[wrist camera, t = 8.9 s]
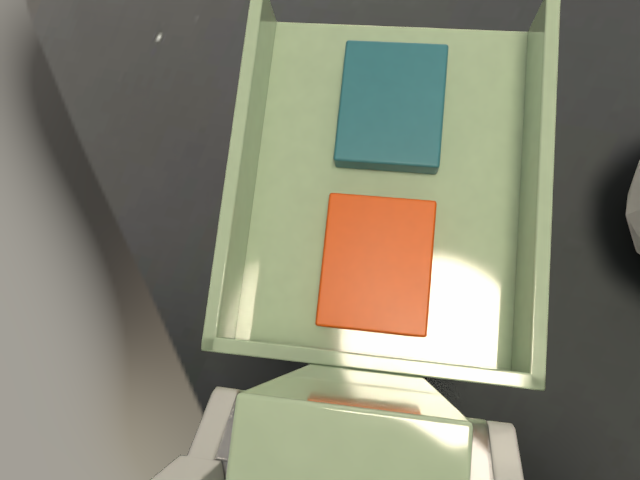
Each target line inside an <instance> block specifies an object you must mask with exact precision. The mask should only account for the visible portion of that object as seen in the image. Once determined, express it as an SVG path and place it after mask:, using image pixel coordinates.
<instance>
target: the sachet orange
mask: <svg viewBox="0 0 640 480" xmlns="http://www.w3.org/2000/svg"><path fill="white" fill-rule="evenodd" d="M436 207H437V203H436V201H432V200H420V199H407V198H394V197H381V196H368V195H355V194H343V193H330V194H329V201H328V210H327V220H326V229H325V238H324V247H323V257H322V266H321V275H320V284H319V293H318V303H317V312H316V321H315V324H316V325H317V326H321V327H330V328H339V329H348V330H358V331H367V332H376V333H385V334H394V335H403V336H413V337H422V338H424V337H426V336H427V327H428V314H429V300H430V287H431V274H432V260H433V247H434V234H435V220H436Z"/></svg>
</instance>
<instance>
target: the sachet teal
mask: <svg viewBox="0 0 640 480" xmlns="http://www.w3.org/2000/svg"><path fill="white" fill-rule="evenodd" d="M448 49H449V47H448V45H447V44H428V43H405V42H381V41H358V40H348V41H347V42H346V47H345V56H344V65H343V74H342V84H341V93H340V102H339V111H338V121H337V130H336V139H335V148H334V157H333V158H334V162H335V166H336V167H341V168H355V169H369V170H382V171H396V172H410V173H424V174H437V172H438V169H439V166H440V156H441V142H442V129H443V116H444V102H445V89H446V75H447V62H448Z"/></svg>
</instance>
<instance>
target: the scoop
mask: <svg viewBox="0 0 640 480" xmlns="http://www.w3.org/2000/svg"><path fill="white" fill-rule="evenodd" d="M559 24H560V0H543V2H542V4H541V6H540V8H539V10H538V12H537V14H536V16H535V18H534V20H533V22H532V25H531V27H530V29H529V31H528V32H518V31H493V30H467V29H442V28H416V27H391V26H365V25H340V24H314V23H289V22H277V21H276V18H275V15H274V12H273V9H272V6H271V3H270V0H250V5H249V12H248V19H247V26H246V33H245V40H244V47H243V54H242V61H241V68H240V75H239V82H238V89H237V96H236V103H235V110H234V118H233V125H232V132H231V139H230V146H229V153H228V160H227V167H226V174H225V181H224V188H223V195H222V202H221V209H220V216H219V224H218V231H217V238H216V245H215V252H214V259H213V266H212V273H211V280H210V287H209V294H208V301H207V308H206V315H205V322H204V329H203V337H202V344H201V350H202V351H209V352H217V353H226V354H234V355H242V356H251V357H259V358H268V359H276V360H285V361H293V362H302V363H310V364H309V365H307V366H304V367H302V368H300V369H297V370H295V371H292V372H290V373H287V374H285V375H282V376H280V377H277V378H275V379H272V380H270V381H267V382H265V383H262V384H260V385H257V386H255V387H253V388H250V389H248V390H245V391H243V392H240V393H238V394H237V396H236V401H235V409H234V417H233V425H232V432H231V440H230V448H229V456H228V463H227V471H226V479H225V480H470V477H471V460H472V443H473V424H472V423H471V422H470V421H469V420H468V419H467V418H466V417H465V416H464V415H463V414H462V413H461V412H460V411H459V410H458V409H456V408H455V407H454V406H453V405H452V404H451V403H450V402H449V401H448V400H447V399H446V398H445V397H444V396H443V395H441V394H440V393H439V392H438V391H437V390H436V389H435V388H434V387H433V386H432V385H431V384H430V383H429V382H428V381H426V380H425V379H424V378H423V377H429V378H438V379H446V380H455V381H463V382H472V383H480V384H489V385H497V386H506V387H514V388H523V389H531V390H540V391H544V390H545V381H546V356H547V330H548V305H549V279H550V254H551V228H552V203H553V177H554V152H555V126H556V101H557V75H558V50H559ZM348 40H358V41H381V42H405V43H428V44H447V45H448V47H449V49H448V62H447V75H446V89H445V102H444V116H443V129H442V142H441V156H440V166H439V169H438V172H437V174H424V173H410V172H396V171H382V170H369V169H355V168H341V167H336V166H335V162H334V158H333V157H334V148H335V139H336V130H337V121H338V111H339V102H340V93H341V84H342V74H343V65H344V56H345V47H346V42H347V41H348ZM330 193H343V194H355V195H368V196H381V197H394V198H407V199H420V200H432V201H436V203H437V207H436V220H435V234H434V247H433V260H432V274H431V287H430V300H429V314H428V327H427V336H426V337H424V338H422V337H413V336H403V335H394V334H385V333H376V332H367V331H358V330H348V329H339V328H330V327H321V326H317V325H316V324H315V321H316V312H317V303H318V293H319V284H320V275H321V266H322V257H323V247H324V238H325V229H326V220H327V210H328V201H329V194H330Z"/></svg>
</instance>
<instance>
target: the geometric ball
mask: <svg viewBox="0 0 640 480" xmlns="http://www.w3.org/2000/svg"><path fill="white" fill-rule="evenodd" d="M625 216H626V219H627V222H628V226H629V229H630V233H631V236H632V239H633V243H634V246H635V250H636V252H637V253H638V254H639V255H640V160H639V163H638V166H637V169H636V172H635V174H634V177H633V180H632V183H631V186H630V189H629V192H628V197H627V206H626V215H625Z"/></svg>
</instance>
